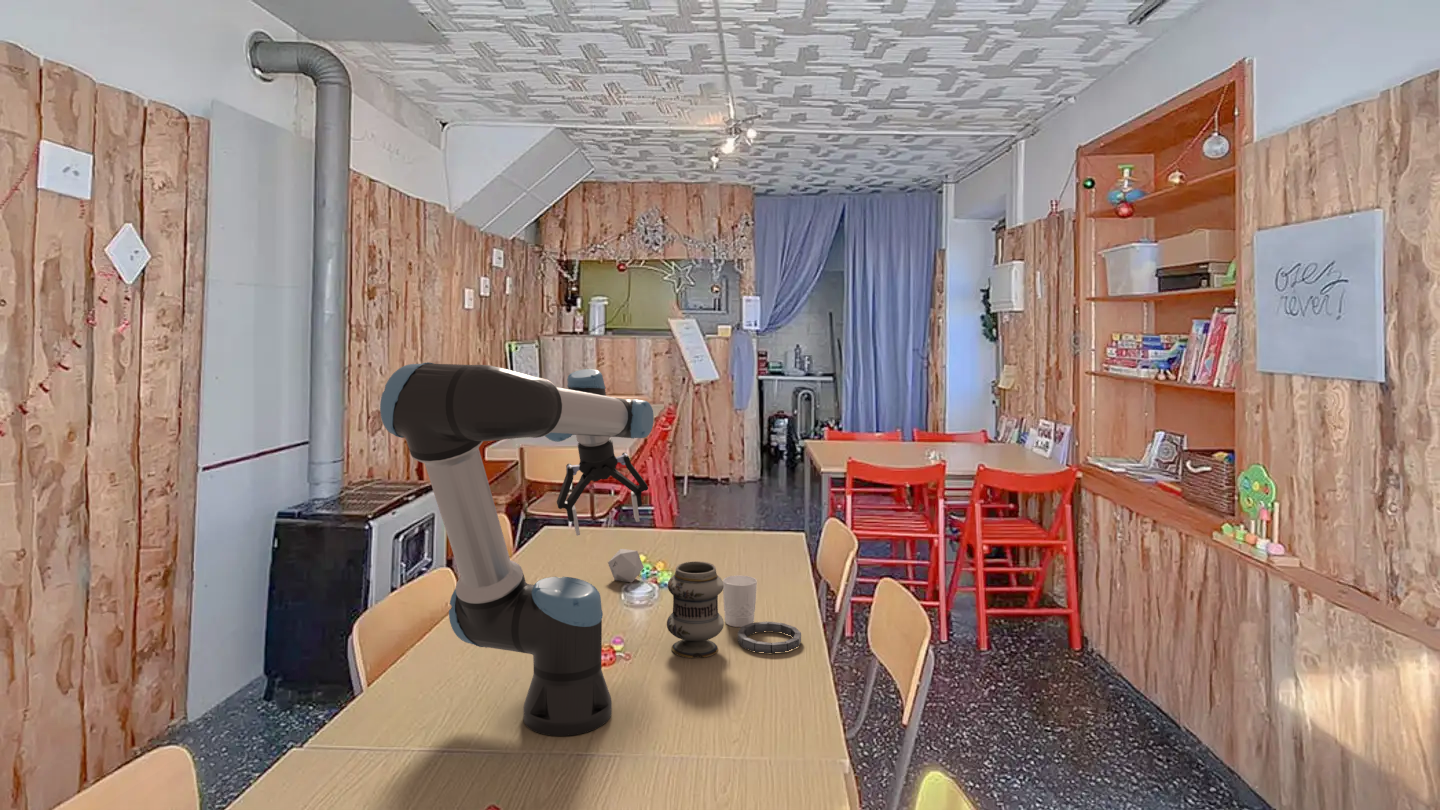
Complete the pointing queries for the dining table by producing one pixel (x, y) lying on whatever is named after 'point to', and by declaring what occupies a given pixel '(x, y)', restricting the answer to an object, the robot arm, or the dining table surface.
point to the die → (625, 565)
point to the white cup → (739, 600)
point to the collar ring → (767, 646)
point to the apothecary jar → (695, 609)
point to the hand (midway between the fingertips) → (607, 526)
